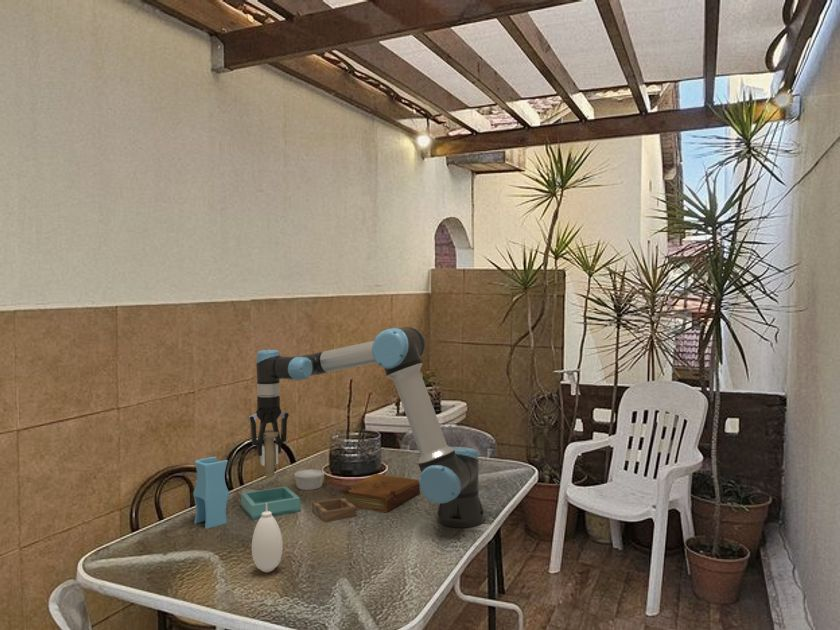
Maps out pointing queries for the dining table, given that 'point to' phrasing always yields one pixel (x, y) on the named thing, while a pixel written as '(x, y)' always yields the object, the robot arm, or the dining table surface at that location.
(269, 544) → the white air blower bulb
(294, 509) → the parts tray
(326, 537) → the dining table surface
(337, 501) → the socket
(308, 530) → the dining table surface
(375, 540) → the dining table surface
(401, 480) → the diary
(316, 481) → the ramekin
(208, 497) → the blue tall hollow block
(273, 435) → the handle
